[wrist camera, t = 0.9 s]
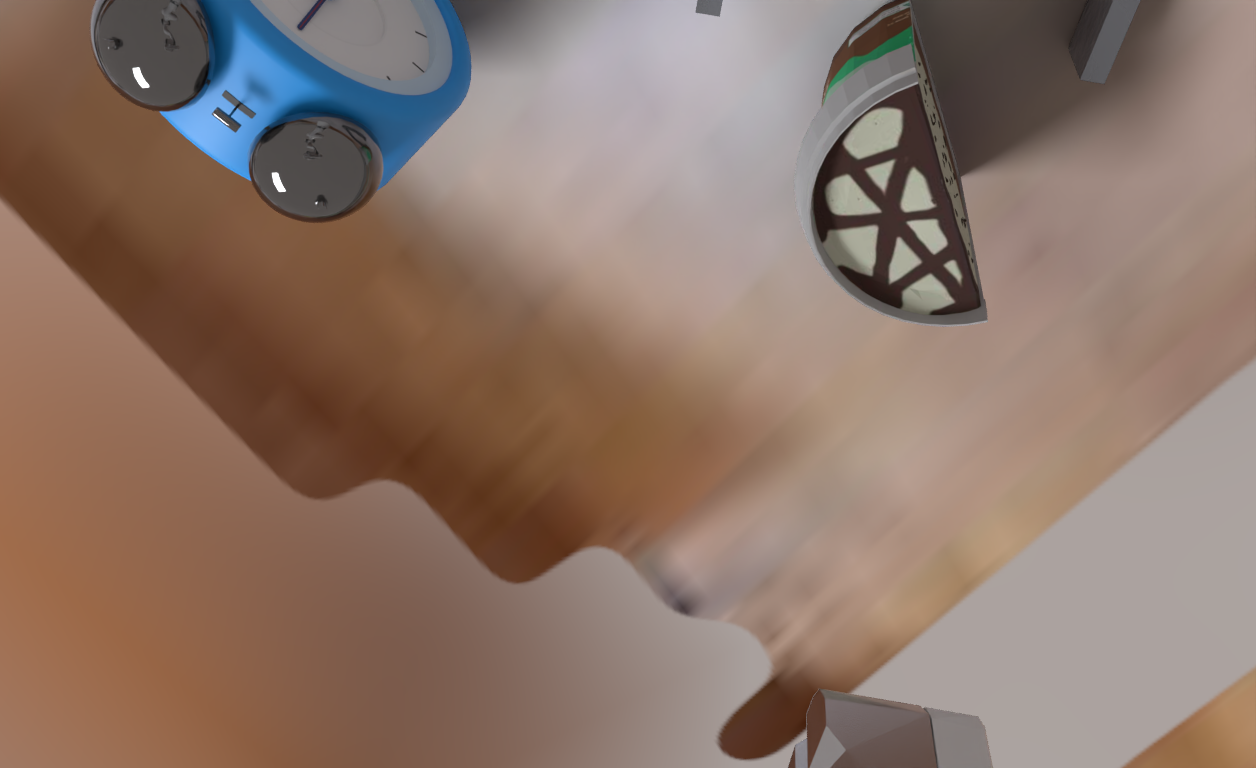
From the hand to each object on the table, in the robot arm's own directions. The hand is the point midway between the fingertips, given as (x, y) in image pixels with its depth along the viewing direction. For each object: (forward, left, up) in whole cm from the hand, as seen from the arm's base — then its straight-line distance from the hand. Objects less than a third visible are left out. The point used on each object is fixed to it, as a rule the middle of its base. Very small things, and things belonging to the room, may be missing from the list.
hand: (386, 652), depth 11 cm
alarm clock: (+12, -14, -43) cm, 47 cm away
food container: (+15, +10, -43) cm, 47 cm away
